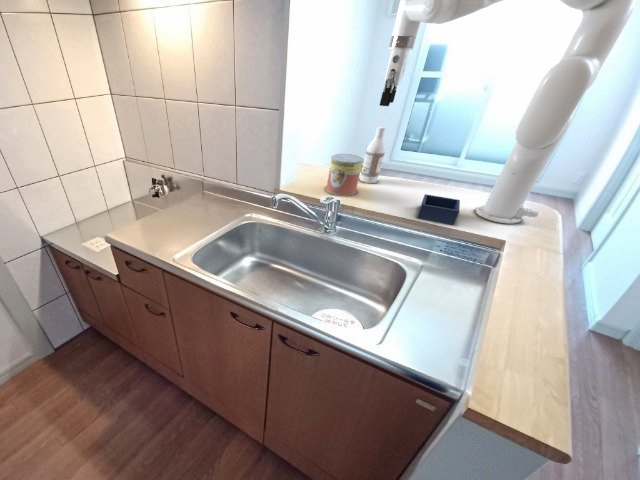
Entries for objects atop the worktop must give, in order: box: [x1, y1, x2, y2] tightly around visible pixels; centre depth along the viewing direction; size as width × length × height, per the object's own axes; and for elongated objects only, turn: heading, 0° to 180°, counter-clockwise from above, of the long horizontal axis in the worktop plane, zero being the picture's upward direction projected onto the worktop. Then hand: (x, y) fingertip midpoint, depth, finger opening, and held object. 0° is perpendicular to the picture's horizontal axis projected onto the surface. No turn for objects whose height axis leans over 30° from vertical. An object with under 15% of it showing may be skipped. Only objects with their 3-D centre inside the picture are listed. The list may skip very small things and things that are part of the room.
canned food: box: [325, 153, 364, 197], centre depth 122 cm, size 11×11×12 cm
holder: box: [416, 193, 461, 226], centre depth 106 cm, size 11×11×4 cm
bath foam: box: [359, 126, 386, 184], centre depth 128 cm, size 7×7×20 cm
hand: (386, 104), depth 117 cm, fingers open, 9 cm apart
